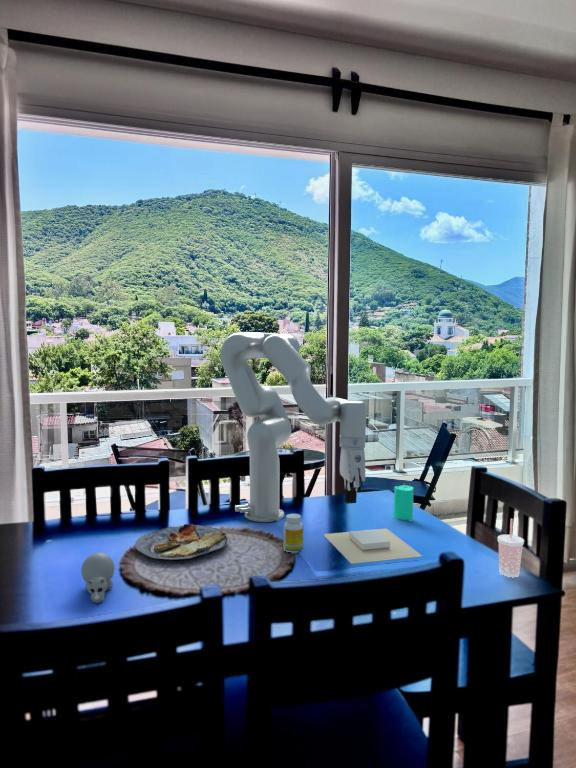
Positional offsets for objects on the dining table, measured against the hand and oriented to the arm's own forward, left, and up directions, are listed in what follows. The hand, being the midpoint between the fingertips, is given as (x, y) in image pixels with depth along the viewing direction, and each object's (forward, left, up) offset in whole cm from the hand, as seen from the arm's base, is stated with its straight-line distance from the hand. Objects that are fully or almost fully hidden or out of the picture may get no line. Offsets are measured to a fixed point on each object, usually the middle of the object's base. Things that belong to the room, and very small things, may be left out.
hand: (350, 502), depth 172 cm
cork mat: (0, -14, -9) cm, 17 cm away
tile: (0, -8, -7) cm, 11 cm away
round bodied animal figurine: (-71, -25, -9) cm, 75 cm away
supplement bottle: (-21, -10, -9) cm, 25 cm away
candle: (+20, +6, -9) cm, 23 cm away
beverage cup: (+27, -39, -9) cm, 48 cm away
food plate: (-50, -1, -9) cm, 51 cm away
